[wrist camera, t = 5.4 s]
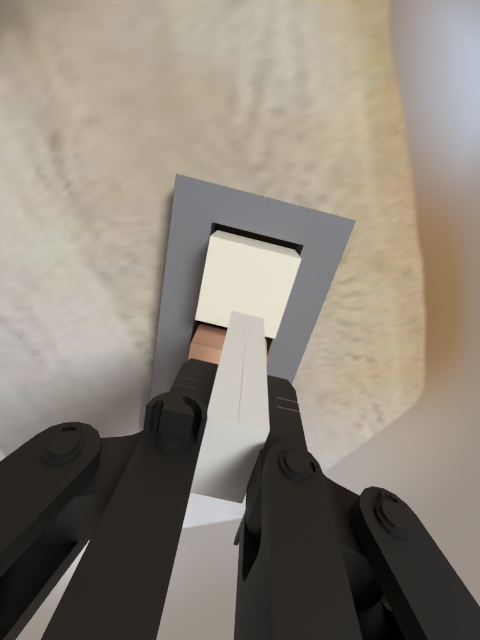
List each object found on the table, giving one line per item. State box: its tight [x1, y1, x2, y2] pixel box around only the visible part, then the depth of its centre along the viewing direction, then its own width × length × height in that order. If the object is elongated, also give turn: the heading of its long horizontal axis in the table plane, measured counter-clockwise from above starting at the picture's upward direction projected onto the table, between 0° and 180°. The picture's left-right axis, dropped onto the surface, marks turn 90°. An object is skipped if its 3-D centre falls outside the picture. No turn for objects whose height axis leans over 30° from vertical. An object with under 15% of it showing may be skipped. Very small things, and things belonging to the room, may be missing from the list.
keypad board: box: [149, 174, 356, 402], centre depth 26 cm, size 28×13×2 cm, turn 167°
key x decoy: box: [188, 324, 268, 365], centre depth 23 cm, size 6×6×4 cm
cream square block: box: [195, 230, 301, 339], centre depth 20 cm, size 6×6×4 cm
